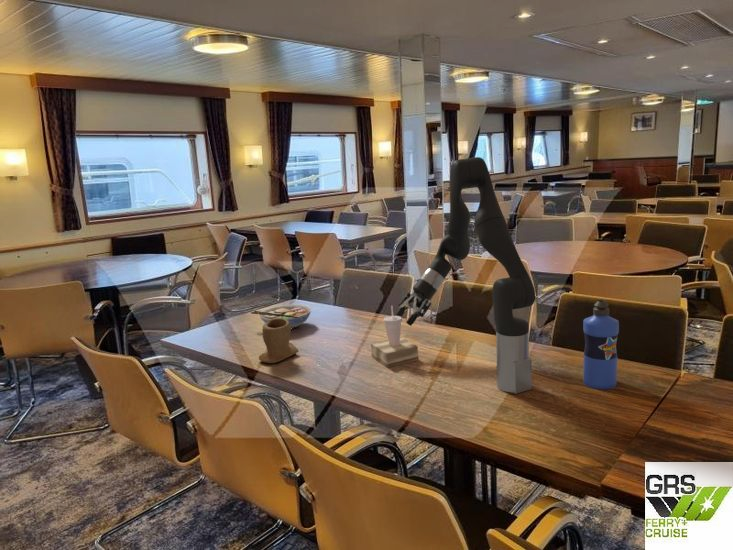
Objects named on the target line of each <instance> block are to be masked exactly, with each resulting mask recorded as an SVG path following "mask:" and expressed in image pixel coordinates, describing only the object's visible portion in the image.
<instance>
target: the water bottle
mask: <svg viewBox="0 0 733 550" xmlns="http://www.w3.org/2000/svg"><path fill="white" fill-rule="evenodd" d="M609 305H610V304H608V302H606V300H602V299H599V300H597V301H596V302H595V303H593V306H594V307H593V308H592V309H593V310H592V312H593V313H592V314H593V315H591V316H588V317H586V318H584V319H583V321H582V322H583V323H582V324H583V326H582V327H583V334H584V352H583V361H582V362H583V371H582V372H583V373H582V376H583V377H582V378H583V379H582V382H583V384H584V385H585V386H586V387H589V388H592V389H595V390H610V389H611V390H612V389H614V388H616V387H617V385H618V383H617V381H618V380H617V379H618V354H617V341H618V337H619V336H618V335H619V332H620V328H619V327H620V321H619V320H618V319H616V318H614V317H612V316H610V308H609Z"/></svg>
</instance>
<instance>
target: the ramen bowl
mask: <svg viewBox="0 0 733 550" xmlns="http://www.w3.org/2000/svg"><path fill="white" fill-rule="evenodd" d="M311 312H312V307H311V306H310V305H306V304H296V303H295V304H282V305H277V306H272V307H269V308H265V309H264V310H262V311H259V310H253V311H251V312H250V314H254V315H255V314H256V315H258V316H259V318H260V319H261V320H262V322H264V324H265V323H266V322H268V321H269V320H271V319H274V318H284V319H286V320H288V321H289V323H290V327H291V328H293V329H295V328H296V327H299V326H301V325H302V324H304V323H305V322H306V321H307V320H308V318H309V317H310V315H311ZM294 327H295V328H294Z"/></svg>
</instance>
